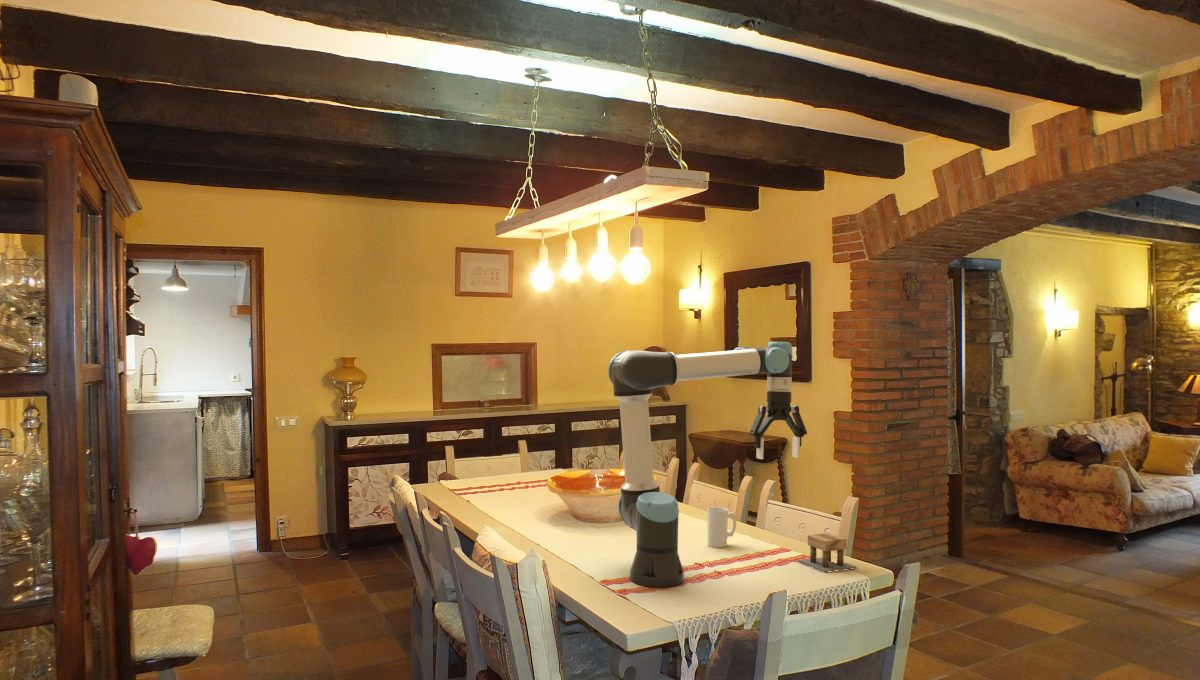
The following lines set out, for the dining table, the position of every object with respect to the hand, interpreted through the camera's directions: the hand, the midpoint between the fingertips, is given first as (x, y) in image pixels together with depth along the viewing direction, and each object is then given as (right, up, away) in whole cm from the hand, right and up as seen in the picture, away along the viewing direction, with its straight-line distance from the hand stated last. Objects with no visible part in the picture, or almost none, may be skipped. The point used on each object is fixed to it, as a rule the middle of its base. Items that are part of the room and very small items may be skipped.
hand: (778, 458), depth 239 cm
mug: (-16, -31, +14) cm, 38 cm away
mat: (+13, -31, -9) cm, 35 cm away
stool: (+13, -31, -9) cm, 34 cm away
